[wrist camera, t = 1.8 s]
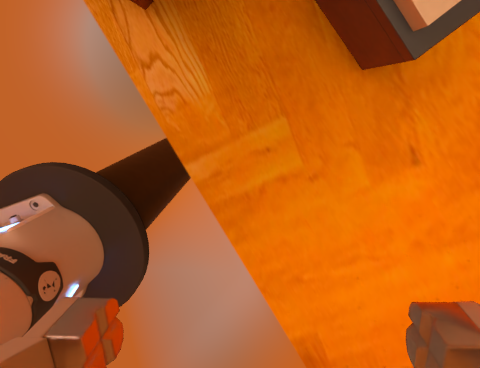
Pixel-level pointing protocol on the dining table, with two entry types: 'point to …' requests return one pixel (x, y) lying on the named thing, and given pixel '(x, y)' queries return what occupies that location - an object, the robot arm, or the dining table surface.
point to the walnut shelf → (143, 3)
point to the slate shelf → (395, 26)
